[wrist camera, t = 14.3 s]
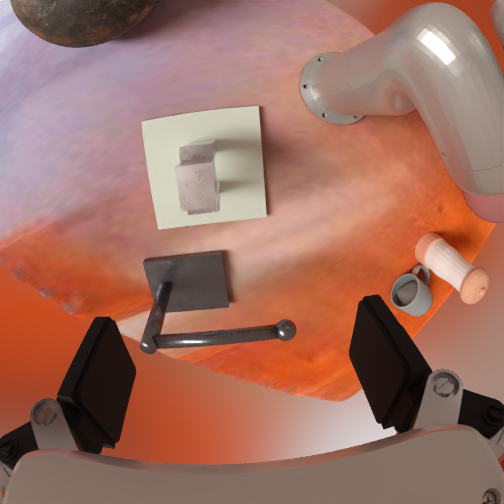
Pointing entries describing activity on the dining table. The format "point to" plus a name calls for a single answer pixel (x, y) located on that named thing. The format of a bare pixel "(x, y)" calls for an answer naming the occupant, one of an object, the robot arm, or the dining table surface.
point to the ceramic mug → (412, 292)
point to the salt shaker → (452, 267)
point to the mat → (226, 163)
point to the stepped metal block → (198, 178)
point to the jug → (81, 19)
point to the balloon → (486, 206)
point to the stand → (196, 302)
